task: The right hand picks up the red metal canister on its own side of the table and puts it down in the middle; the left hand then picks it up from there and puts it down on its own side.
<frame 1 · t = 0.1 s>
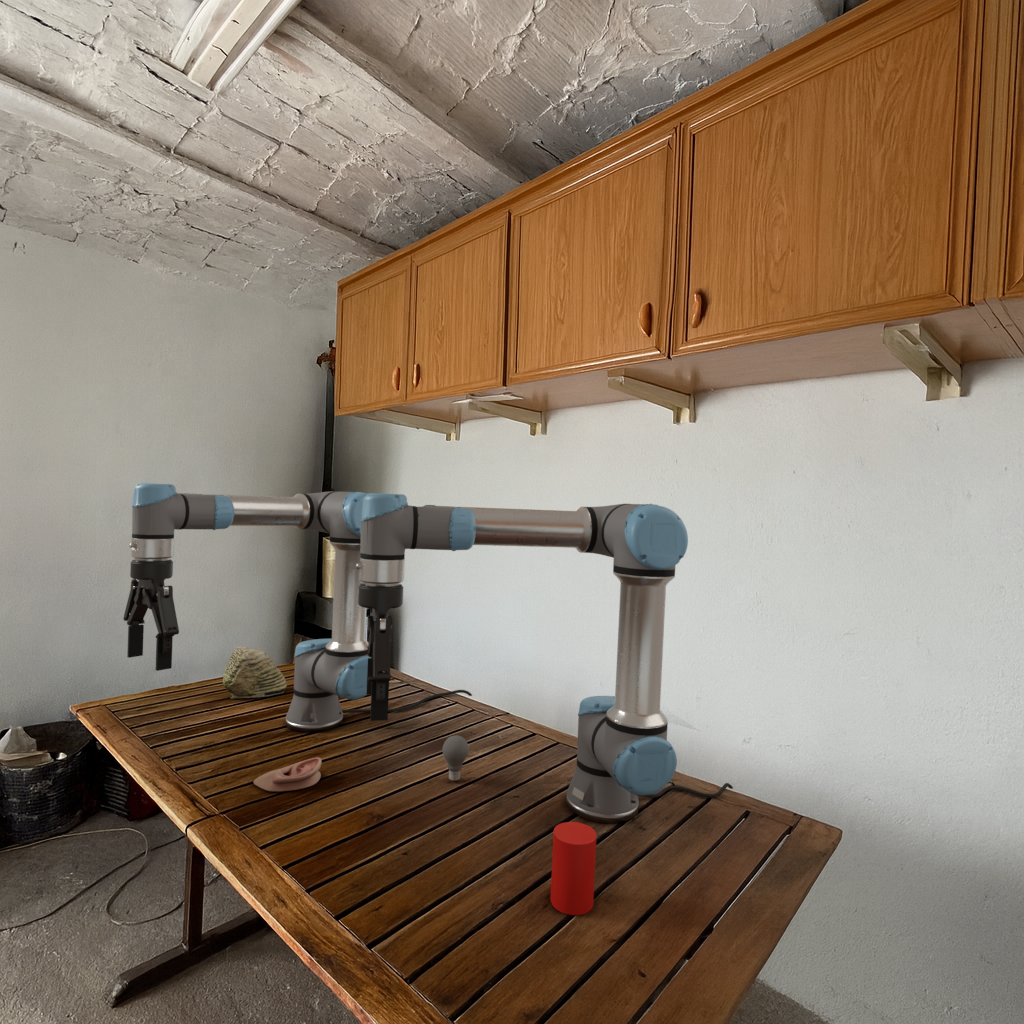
left hand: (148, 662, 129), 28 cm above the table, tool pointing down, fingers open, 13 cm apart
right hand: (376, 706, 109), 28 cm above the table, tool pointing down, fingers open, 13 cm apart
fossil: (254, 694, 198), on the table
canister: (571, 901, 102), on the table
anatomical model: (287, 781, 140), on the table
light bulb: (454, 780, 144), on the table
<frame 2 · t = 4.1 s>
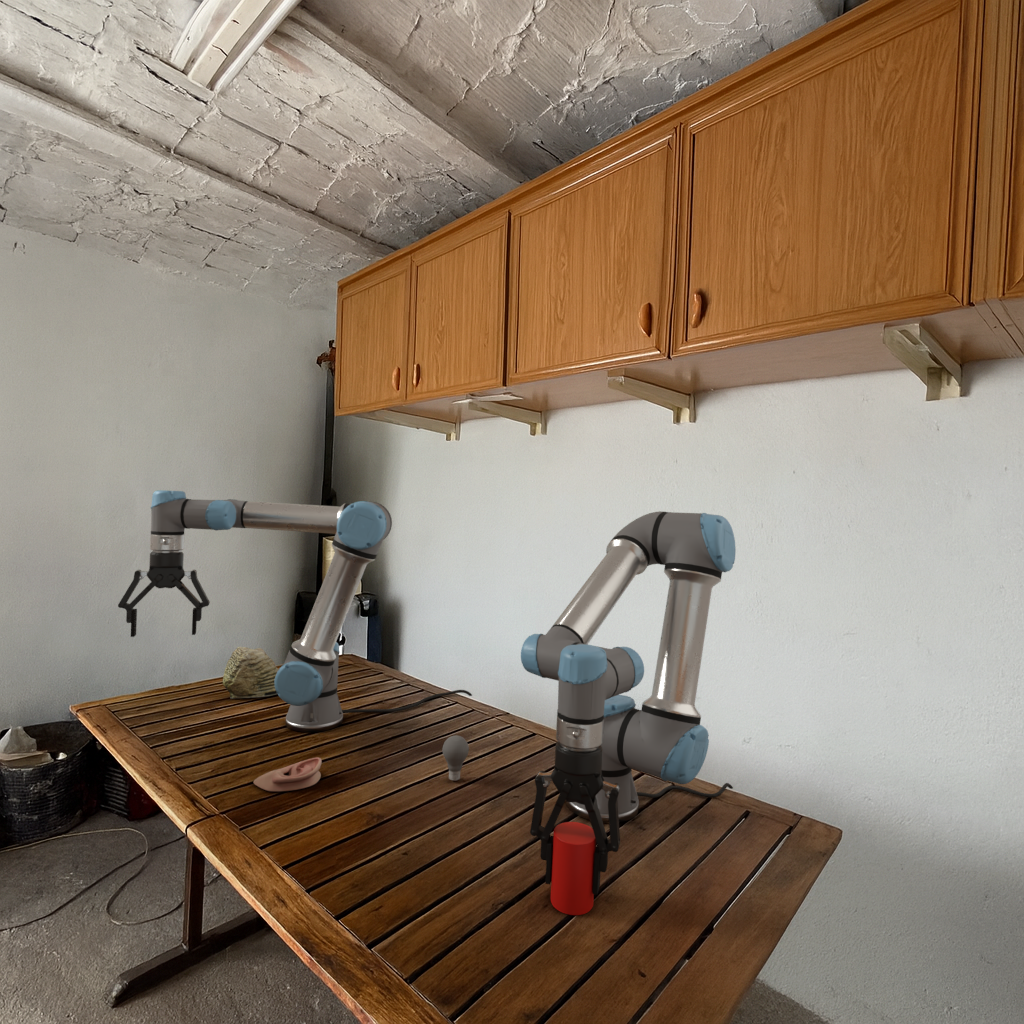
left hand: (164, 634, 161), 26 cm above the table, tool pointing down, fingers open, 13 cm apart
right hand: (572, 884, 102), 3 cm above the table, tool pointing down, fingers closed on canister, 7 cm apart
canister: (571, 901, 102), on the table, touching right hand
everything else where it was.
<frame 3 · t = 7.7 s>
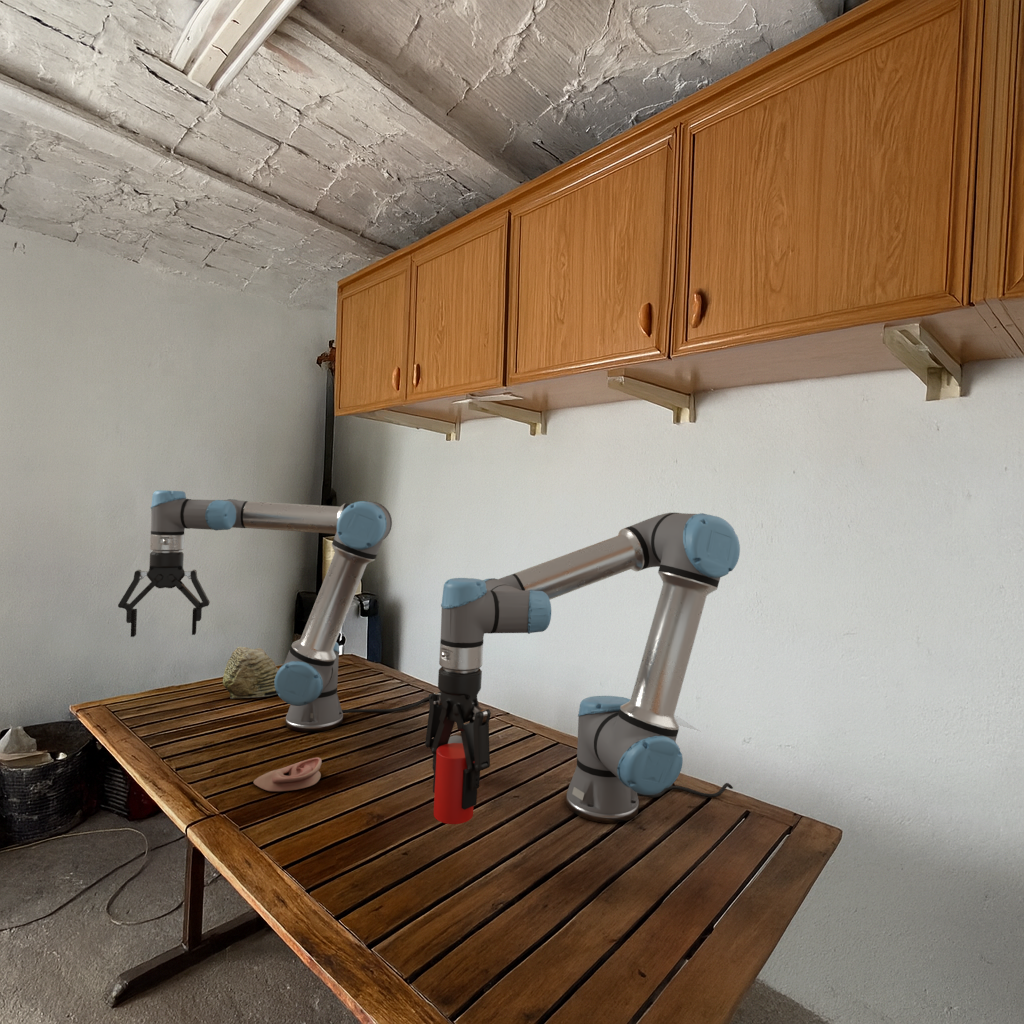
left hand: (164, 634, 161), 26 cm above the table, tool pointing down, fingers open, 13 cm apart
right hand: (454, 798, 111), 12 cm above the table, tool pointing down, fingers closed on canister, 7 cm apart
canister: (453, 814, 111), point 9 cm above the table, touching right hand
everything else where it was.
when the right hand's fingers open (5 cm above the table, at t = 11.5 s): canister drops 2 cm, on the table.
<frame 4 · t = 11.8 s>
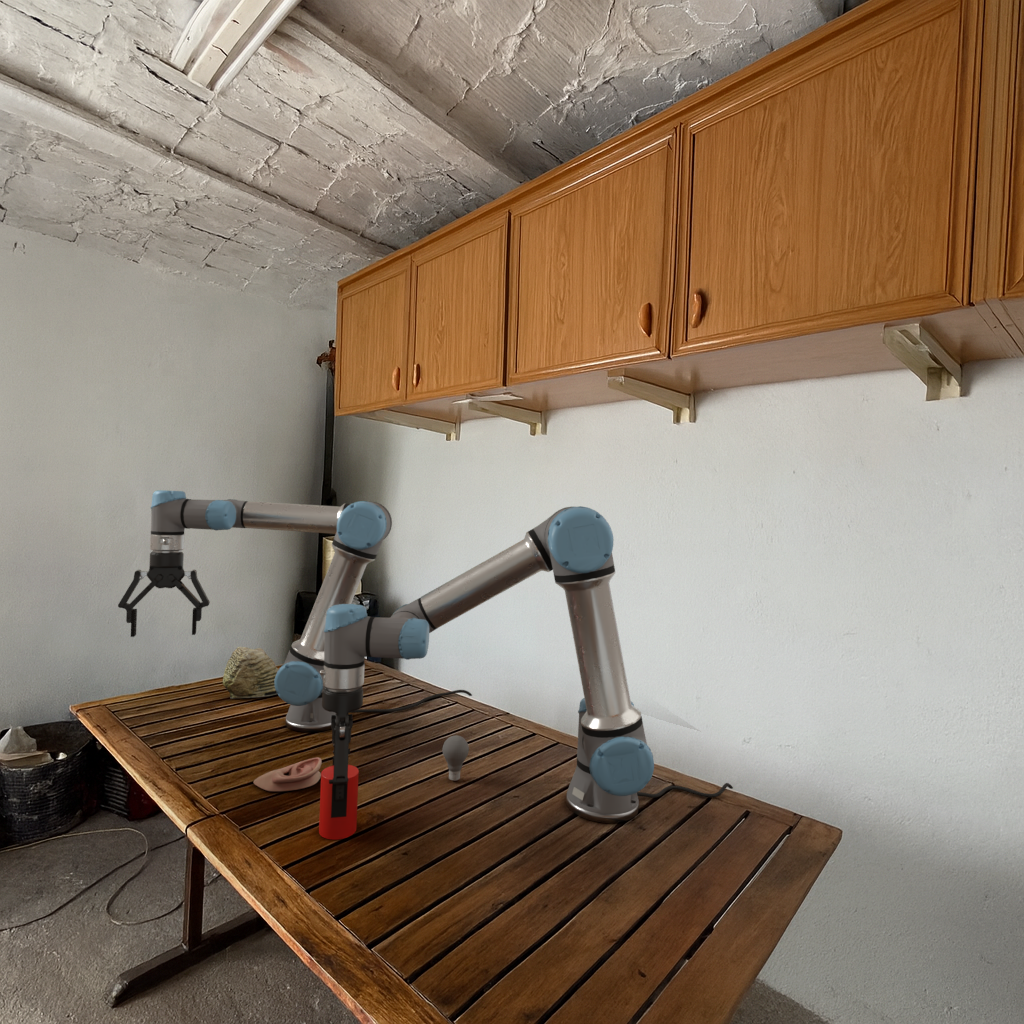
left hand: (164, 634, 161), 26 cm above the table, tool pointing down, fingers open, 13 cm apart
right hand: (338, 802, 121), 5 cm above the table, tool pointing down, fingers open, 10 cm apart
canister: (337, 830, 121), on the table
everything else where it was.
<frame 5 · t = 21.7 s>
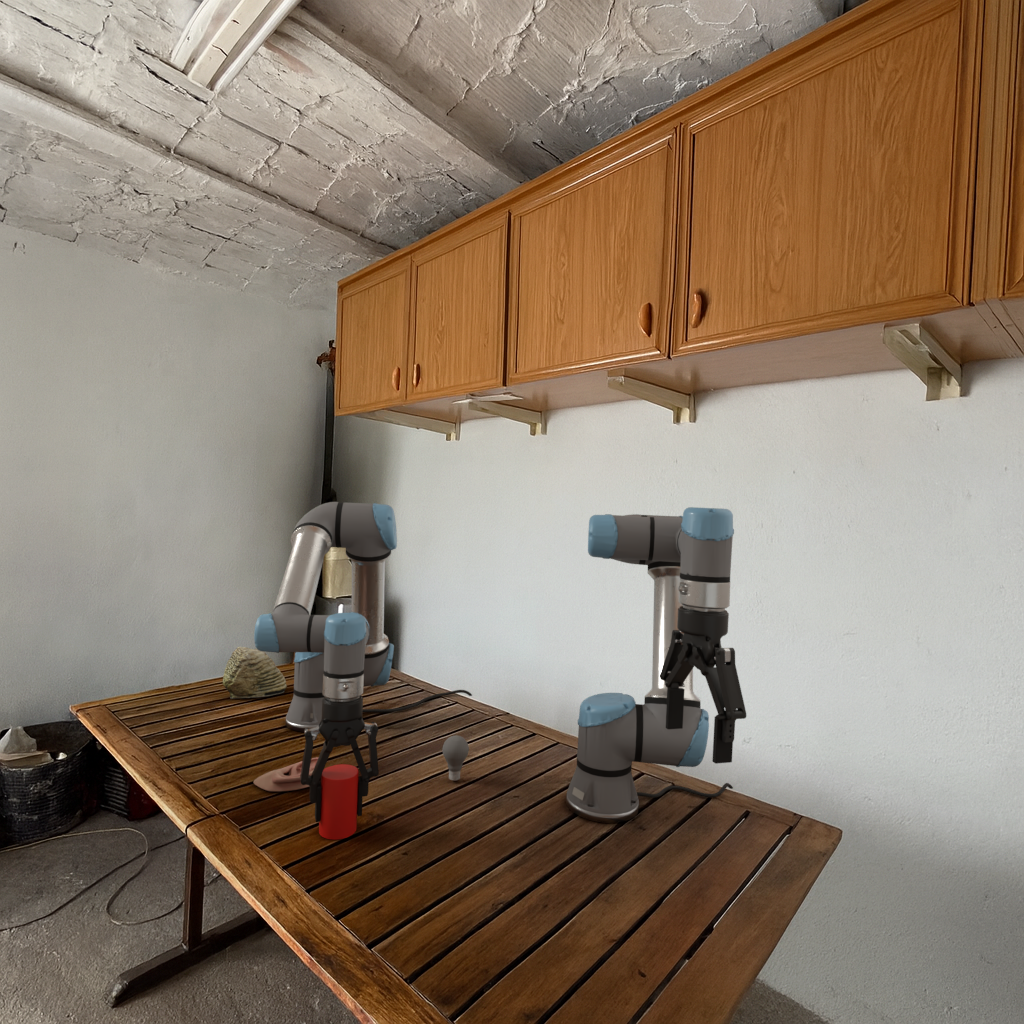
left hand: (338, 815, 121), 3 cm above the table, tool pointing down, fingers closed on canister, 7 cm apart
right hand: (696, 744, 98), 28 cm above the table, tool pointing down, fingers open, 13 cm apart
canister: (337, 830, 121), on the table, touching left hand
everything else where it was.
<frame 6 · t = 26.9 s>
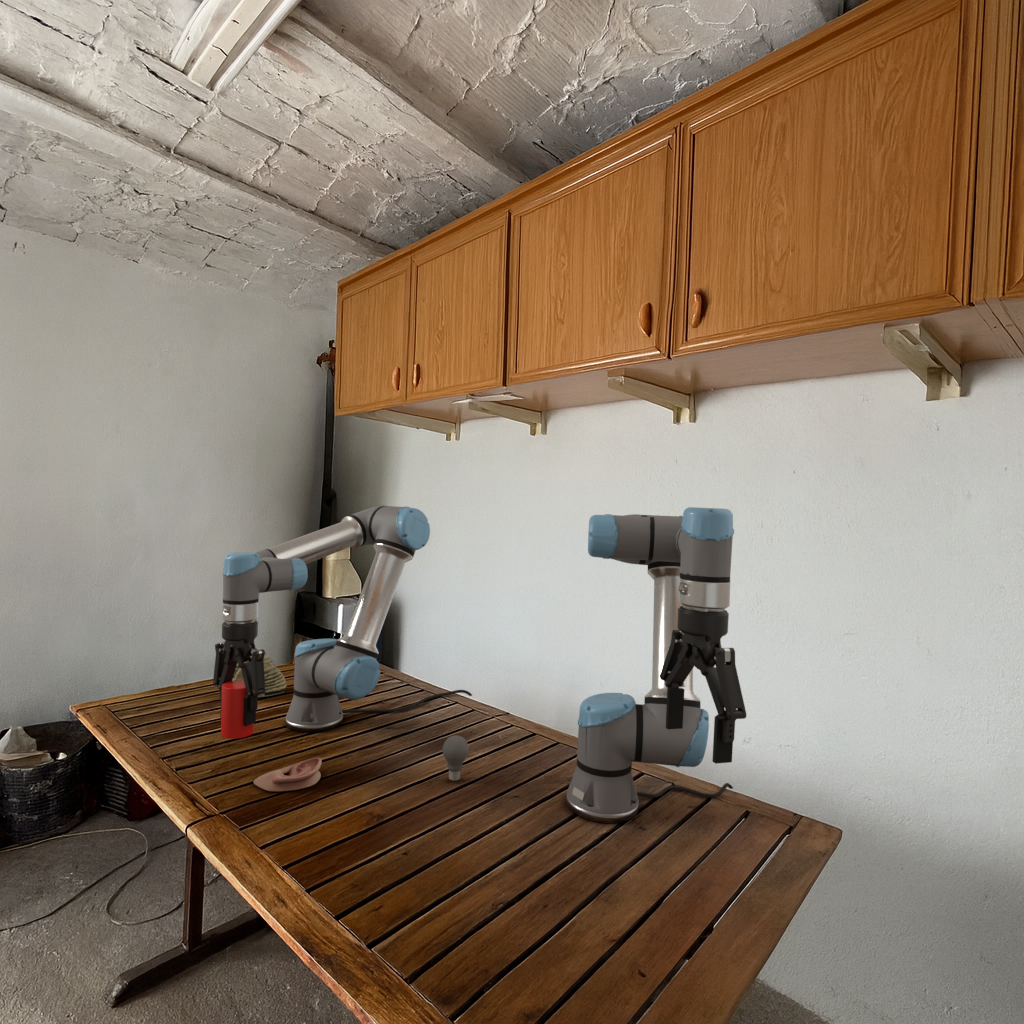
left hand: (237, 720, 144), 11 cm above the table, tool pointing down, fingers closed on canister, 7 cm apart
right hand: (696, 744, 98), 28 cm above the table, tool pointing down, fingers open, 13 cm apart
canister: (237, 733, 144), point 9 cm above the table, touching left hand
everything else where it was.
when the left hand's fingers open (5 cm above the table, at t = 32.2 s): canister drops 2 cm, on the table.
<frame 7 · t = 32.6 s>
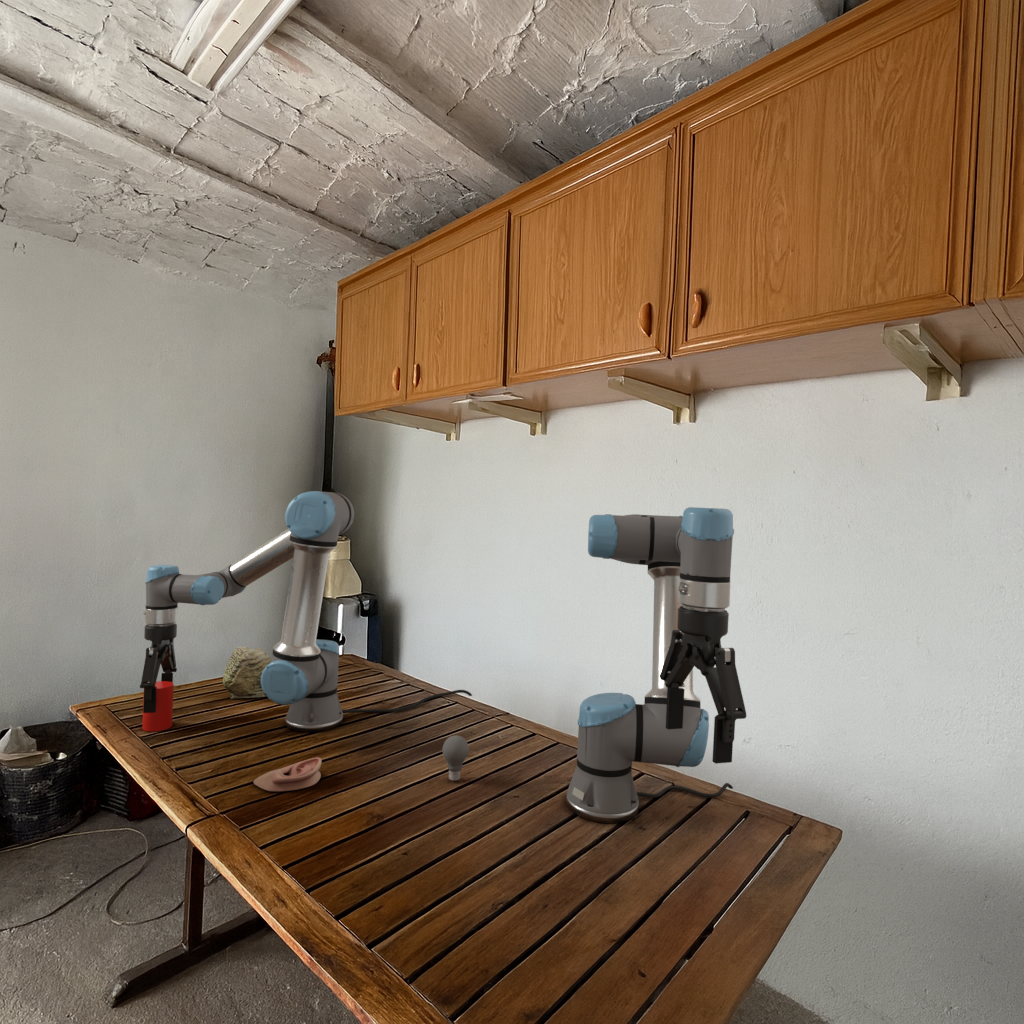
left hand: (158, 704, 168), 6 cm above the table, tool pointing down, fingers open, 12 cm apart
right hand: (696, 744, 98), 28 cm above the table, tool pointing down, fingers open, 13 cm apart
canister: (157, 726, 168), on the table
everything else where it was.
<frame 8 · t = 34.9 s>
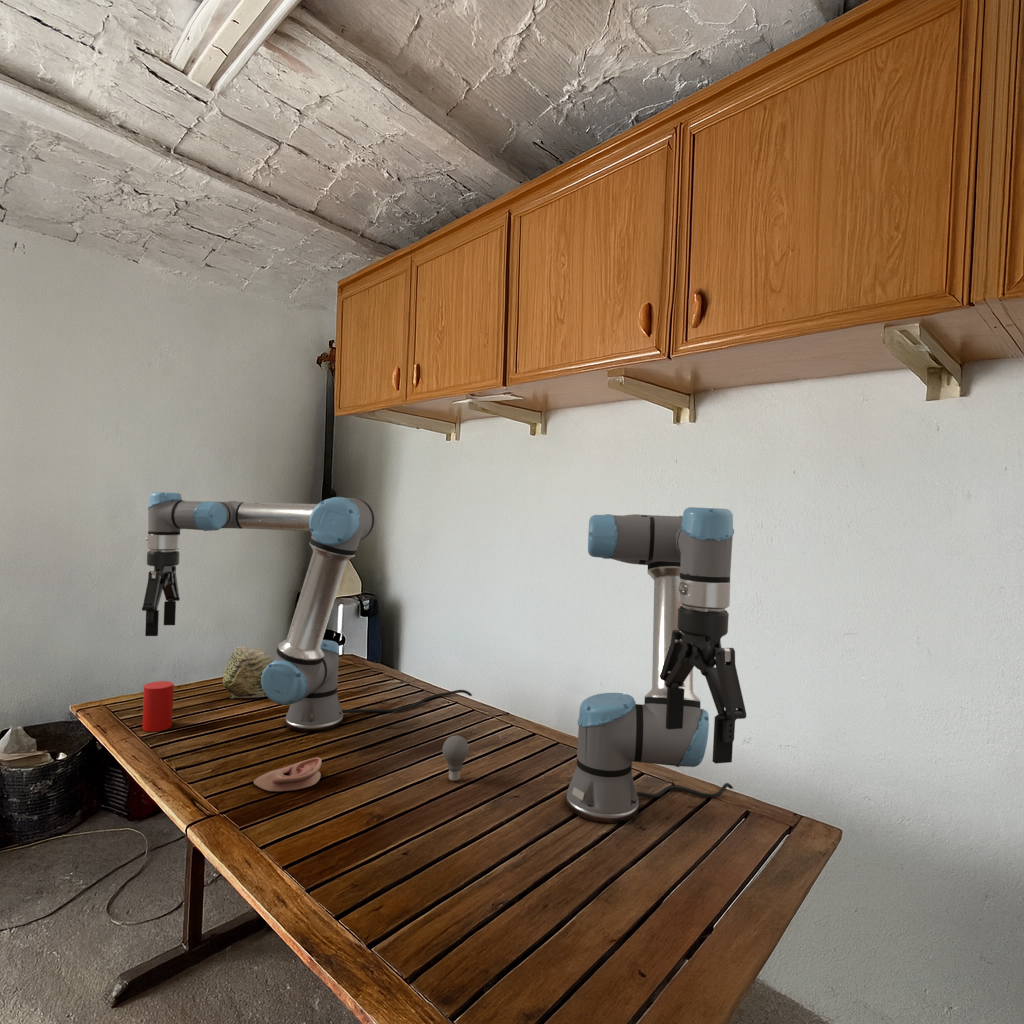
left hand: (160, 630, 168), 26 cm above the table, tool pointing down, fingers open, 13 cm apart
right hand: (696, 744, 98), 28 cm above the table, tool pointing down, fingers open, 13 cm apart
nothing on the table moved.
at the end: canister inside the target area (0.0 cm from its centre), on the table; canister tilted 0°; the two hands never held the canister at the same time; the left hand is holding nothing; the right hand is holding nothing; canister at rest at the end (0.0 cm/s) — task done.
